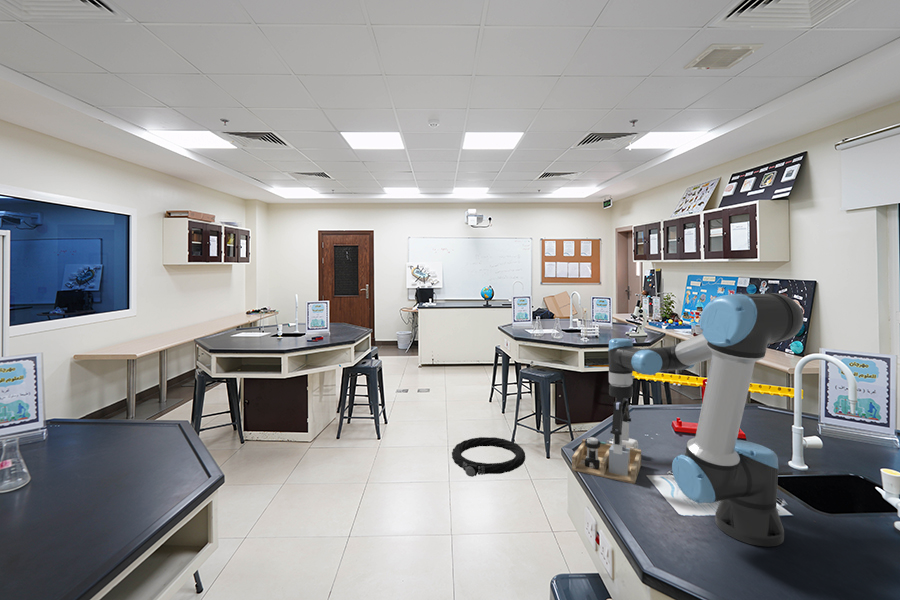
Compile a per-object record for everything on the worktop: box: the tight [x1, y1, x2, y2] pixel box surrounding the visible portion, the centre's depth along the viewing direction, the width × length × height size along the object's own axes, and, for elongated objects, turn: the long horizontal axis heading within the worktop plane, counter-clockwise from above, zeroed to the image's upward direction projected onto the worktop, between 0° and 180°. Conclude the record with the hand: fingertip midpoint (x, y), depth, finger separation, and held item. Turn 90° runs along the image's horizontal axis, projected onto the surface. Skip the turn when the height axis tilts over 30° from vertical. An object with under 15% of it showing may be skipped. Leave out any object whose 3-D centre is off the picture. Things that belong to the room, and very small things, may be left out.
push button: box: [581, 436, 602, 470], centre depth 152 cm, size 7×5×10 cm
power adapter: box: [606, 437, 639, 449], centre depth 165 cm, size 11×5×6 cm, turn 44°
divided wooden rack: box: [571, 438, 642, 485], centre depth 152 cm, size 16×20×6 cm
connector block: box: [609, 445, 630, 476], centre depth 148 cm, size 4×6×9 cm
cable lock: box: [451, 436, 526, 478], centre depth 161 cm, size 28×4×30 cm
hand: (621, 446), depth 146 cm, fingers open, 13 cm apart
